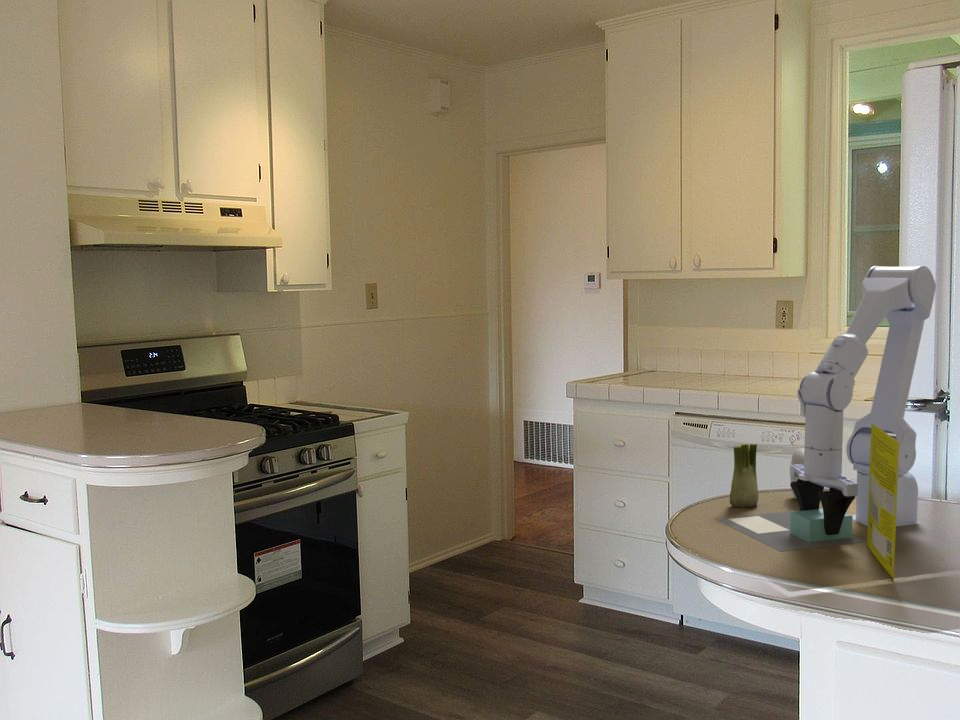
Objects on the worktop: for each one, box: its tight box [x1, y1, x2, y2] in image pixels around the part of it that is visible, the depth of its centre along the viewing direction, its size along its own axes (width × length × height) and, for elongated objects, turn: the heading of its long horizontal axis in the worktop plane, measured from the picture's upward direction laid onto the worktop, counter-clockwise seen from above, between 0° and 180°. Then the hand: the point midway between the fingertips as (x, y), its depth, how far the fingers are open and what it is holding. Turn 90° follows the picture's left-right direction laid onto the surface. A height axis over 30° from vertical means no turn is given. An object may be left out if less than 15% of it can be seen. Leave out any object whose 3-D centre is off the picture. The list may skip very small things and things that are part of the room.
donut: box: [789, 447, 804, 500], centre depth 172 cm, size 10×3×10 cm, turn 168°
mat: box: [715, 510, 867, 552], centre depth 152 cm, size 16×19×1 cm
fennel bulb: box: [729, 443, 759, 509], centre depth 167 cm, size 6×5×12 cm
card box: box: [790, 508, 853, 542], centre depth 149 cm, size 8×5×4 cm, turn 107°
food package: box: [866, 424, 899, 584], centre depth 135 cm, size 15×1×20 cm, turn 170°
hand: (820, 529), depth 149 cm, fingers closed on card box, 5 cm apart
